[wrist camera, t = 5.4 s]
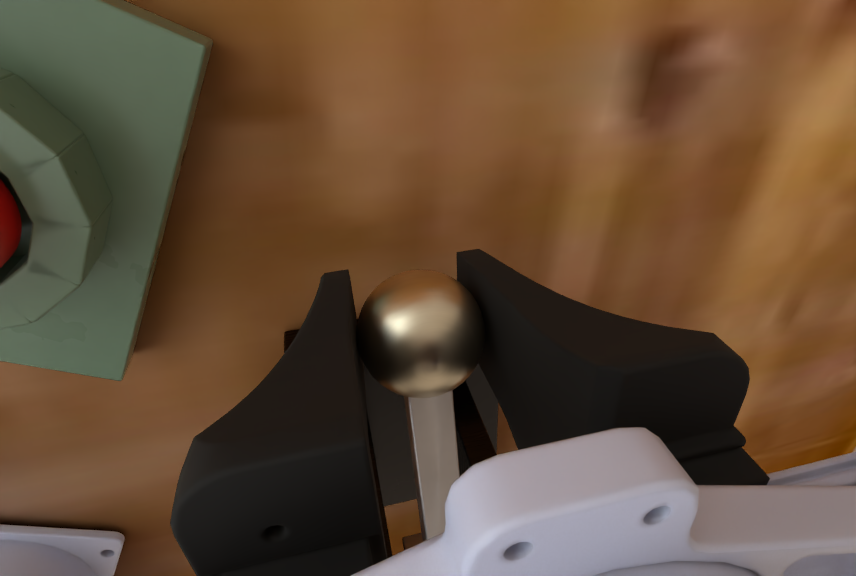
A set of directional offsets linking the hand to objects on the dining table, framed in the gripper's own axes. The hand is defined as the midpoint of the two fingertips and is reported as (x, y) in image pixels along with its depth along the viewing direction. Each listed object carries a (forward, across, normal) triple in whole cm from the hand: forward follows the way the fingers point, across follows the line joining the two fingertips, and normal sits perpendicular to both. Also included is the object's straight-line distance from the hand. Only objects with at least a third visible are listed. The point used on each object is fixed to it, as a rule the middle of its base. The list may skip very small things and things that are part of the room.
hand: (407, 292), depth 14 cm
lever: (-1, 0, +5) cm, 5 cm away
